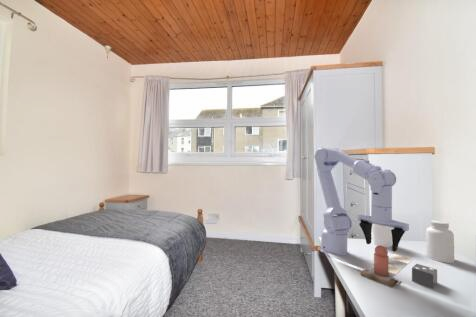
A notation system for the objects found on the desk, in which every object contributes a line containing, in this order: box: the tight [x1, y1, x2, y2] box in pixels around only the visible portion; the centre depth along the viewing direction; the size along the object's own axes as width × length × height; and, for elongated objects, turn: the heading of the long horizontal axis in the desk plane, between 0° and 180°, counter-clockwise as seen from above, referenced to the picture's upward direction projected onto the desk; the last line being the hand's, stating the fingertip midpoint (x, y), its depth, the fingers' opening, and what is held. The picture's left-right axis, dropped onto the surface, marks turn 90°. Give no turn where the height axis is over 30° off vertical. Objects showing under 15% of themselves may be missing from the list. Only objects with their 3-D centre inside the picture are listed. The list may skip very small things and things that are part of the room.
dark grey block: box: [411, 263, 438, 289], centre depth 68 cm, size 5×5×5 cm
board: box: [360, 253, 414, 288], centre depth 78 cm, size 9×28×1 cm, turn 128°
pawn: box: [373, 245, 390, 277], centre depth 72 cm, size 4×4×9 cm
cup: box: [371, 224, 394, 248], centre depth 99 cm, size 9×9×12 cm
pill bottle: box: [425, 219, 455, 264], centre depth 85 cm, size 8×8×15 cm
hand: (381, 247), depth 73 cm, fingers open, 7 cm apart
